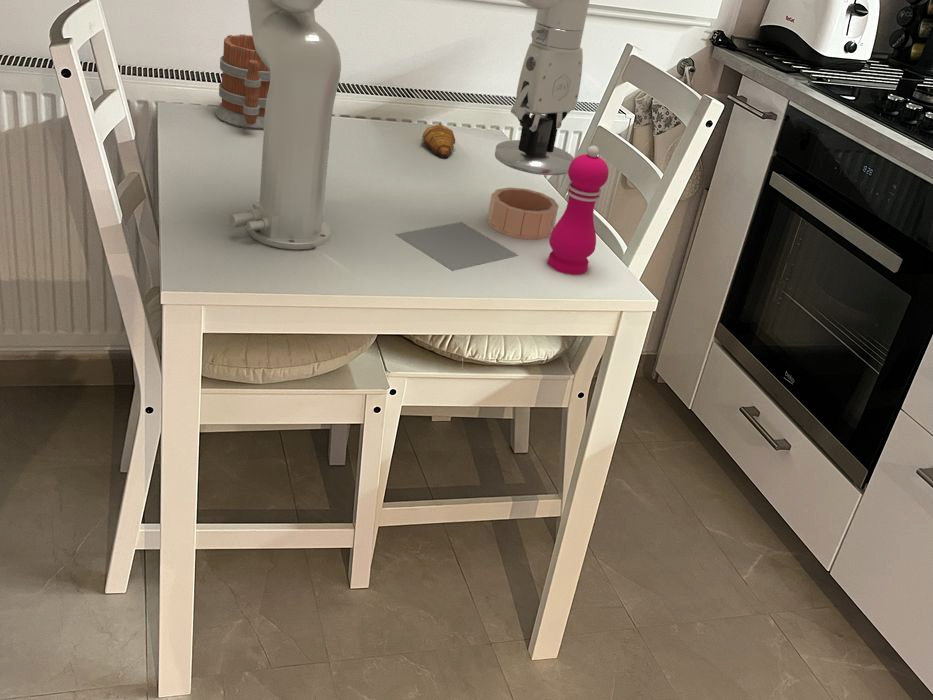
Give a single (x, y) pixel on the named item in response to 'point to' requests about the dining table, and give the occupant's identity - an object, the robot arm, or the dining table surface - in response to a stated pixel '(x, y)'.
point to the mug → (243, 84)
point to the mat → (456, 245)
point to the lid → (541, 159)
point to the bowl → (522, 213)
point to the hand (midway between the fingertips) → (535, 150)
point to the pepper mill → (578, 215)
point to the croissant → (439, 140)
